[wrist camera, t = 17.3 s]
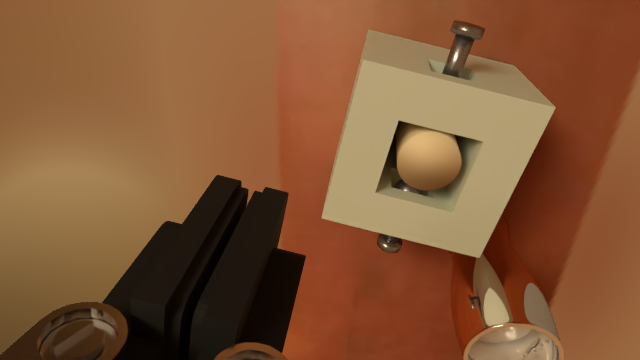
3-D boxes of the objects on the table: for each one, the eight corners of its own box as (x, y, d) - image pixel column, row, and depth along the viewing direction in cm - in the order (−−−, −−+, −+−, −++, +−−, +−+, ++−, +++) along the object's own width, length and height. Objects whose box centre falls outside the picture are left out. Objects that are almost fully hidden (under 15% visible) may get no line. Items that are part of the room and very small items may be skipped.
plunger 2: (449, 115, 32) (454, 128, 30) (417, 107, 32) (419, 119, 30) (484, 26, 29) (491, 33, 27) (448, 17, 29) (453, 23, 27)
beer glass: (525, 213, 42) (589, 339, 29) (493, 268, 45) (537, 402, 32) (454, 193, 42) (485, 310, 29) (427, 249, 45) (444, 376, 32)
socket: (368, 29, 36) (363, 59, 27) (514, 65, 36) (555, 107, 27) (334, 159, 42) (321, 218, 33) (459, 190, 42) (479, 258, 33)
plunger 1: (396, 168, 35) (397, 183, 33) (426, 176, 35) (429, 191, 33) (374, 233, 38) (374, 250, 36) (402, 240, 38) (403, 257, 36)
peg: (403, 80, 37) (408, 127, 29) (452, 92, 37) (471, 143, 29) (388, 125, 39) (389, 182, 31) (435, 136, 39) (448, 197, 31)
